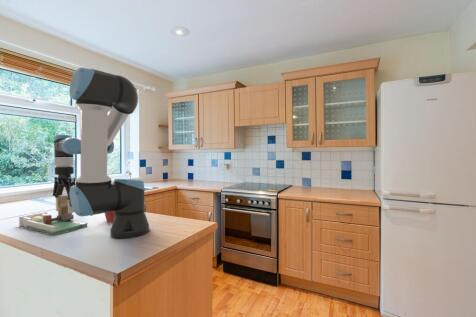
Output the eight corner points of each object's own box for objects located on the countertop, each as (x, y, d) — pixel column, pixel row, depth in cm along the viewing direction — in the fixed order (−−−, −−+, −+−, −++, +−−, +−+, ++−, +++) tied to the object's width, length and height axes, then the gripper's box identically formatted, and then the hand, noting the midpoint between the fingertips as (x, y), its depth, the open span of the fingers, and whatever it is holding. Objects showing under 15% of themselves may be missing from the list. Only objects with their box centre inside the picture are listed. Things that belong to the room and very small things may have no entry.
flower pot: (117, 223, 115) (117, 203, 115) (97, 222, 117) (97, 202, 117) (131, 217, 125) (131, 199, 125) (113, 216, 127) (112, 198, 127)
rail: (87, 226, 111) (87, 223, 111) (81, 227, 109) (81, 224, 109) (59, 220, 122) (59, 217, 122) (53, 221, 119) (53, 218, 119)
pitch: (81, 228, 108) (81, 218, 108) (53, 235, 98) (53, 224, 98) (46, 220, 122) (46, 211, 122) (19, 226, 112) (18, 216, 112)
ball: (39, 221, 117) (43, 225, 116) (29, 223, 114) (33, 227, 112) (41, 214, 117) (45, 217, 115) (31, 215, 113) (35, 219, 111)
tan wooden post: (73, 218, 117) (73, 194, 117) (47, 224, 108) (47, 198, 108) (66, 217, 120) (66, 193, 120) (41, 223, 110) (40, 197, 110)
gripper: (85, 166, 115) (86, 212, 115) (60, 165, 125) (61, 207, 125) (68, 167, 108) (70, 215, 108) (43, 166, 118) (44, 210, 118)
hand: (65, 211), depth 117 cm, fingers open, 10 cm apart
